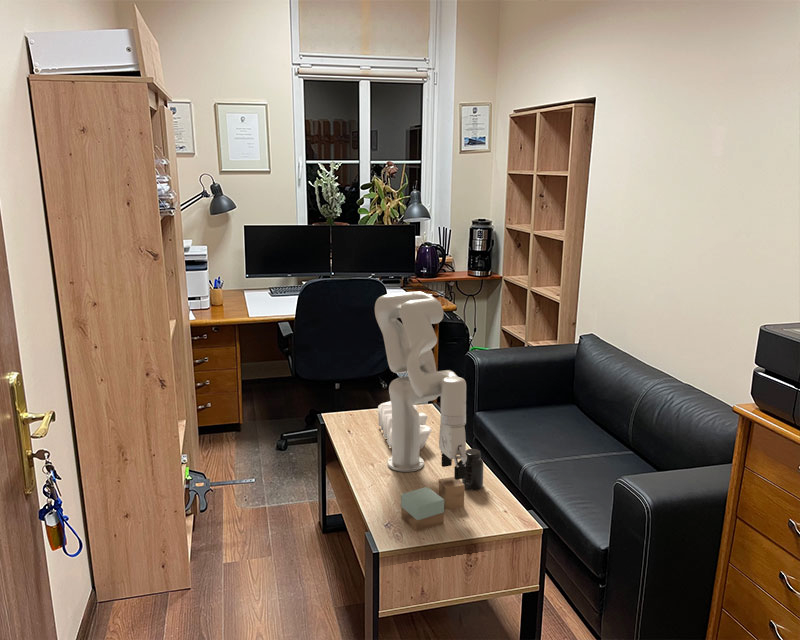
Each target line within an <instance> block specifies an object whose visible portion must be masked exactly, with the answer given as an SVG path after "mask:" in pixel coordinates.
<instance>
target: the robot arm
mask: <svg viewBox="0 0 800 640" xmlns="http://www.w3.org/2000/svg"><path fill="white" fill-rule="evenodd" d="M374 315H375V319H376V322H377V324H378V327H379V329H380V331H381V334H382V337H383V341H384V343H383V344H384V347H385V354H386V358H387V359H386V360H387V363H388V367H389V369H390V371H391V372H393V373H395V374H402V373H406V374H407V376H401V377H397V378H395V379H393V380H391V382H390V383H389V386H388V393H389V399H390V401H391V406H392V449H391V457H389V458H388V459H387V466H388V467H389V468H390V469H391V470H394V471H397V472H400V473H411V472H416V471H418V470H420V469H422V468H423V467H424V466H425V465H424V464H425V461H424V459H423V458H422V457H421V456H420V450H421V449H420V416H419V413H420V412H419V411H418V409H417V410H416V409H415V408H414V407H413V405H416V404H419V403H425V402H426V403H427V402H430V401H431V402H432V401H434V400H436V399H438V397H440V426H439V436H438V437H439V442H438V448H439V451H440V452H441V453H440V454H441V467H442V468H445V467H451V466H452V463H453V460H454V465H455V466H454V469H453V470H454V471H453V472H454V473H453V474H454V476H453V477H454V478H455V479H456V480H458V479H459V480H462V479H464V478H465V466H466V460H467V455H466V450H467V445H466V444H467V442H466V440H467V439H466V429H465V426H466V424H467V382H466V380H465V379H464V378H463V377H459V376H458V375H457V374H456V372H454V371H453V370H451V369H446V370H439V371H438V370H437V365H436V361H435V360H436V359H435V354H434V353H433V350H432V349H433V348H434V347H435V346H436V345H437V343H438V336H437V335H436V332H435V329H434V328H433V325H435V324H439V323H440V322H442V320H443V319H444V308H443V306H442V303H441V302H440V301H439V300H438V299H437V298H435V297H434V296H433V295H430V294H427V293H426V292H423V291H407V292H406V291H405V292H404V291H403V292H394V293H393V292H392V293H386V294H384V295H381V296H379V297H378V298H377V299H376V301H375V304H374ZM399 319H400V320H401V321H400V320H399ZM432 324H433V325H432ZM458 460H459V461H458Z"/></svg>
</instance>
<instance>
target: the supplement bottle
mask: <svg viewBox="0 0 800 640" xmlns="http://www.w3.org/2000/svg"><path fill="white" fill-rule="evenodd" d="M466 455H467V460H466V466H465V478H464V479H461V482H462V483H463V484H464V485H465V489H466V490H468V491H478V490H481V489H482V488H483V486H484V460H483V459H482V458H481V457H482V456H481V451H480V450H479V449H476V448H468V449H466ZM465 489H464V490H465Z"/></svg>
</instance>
